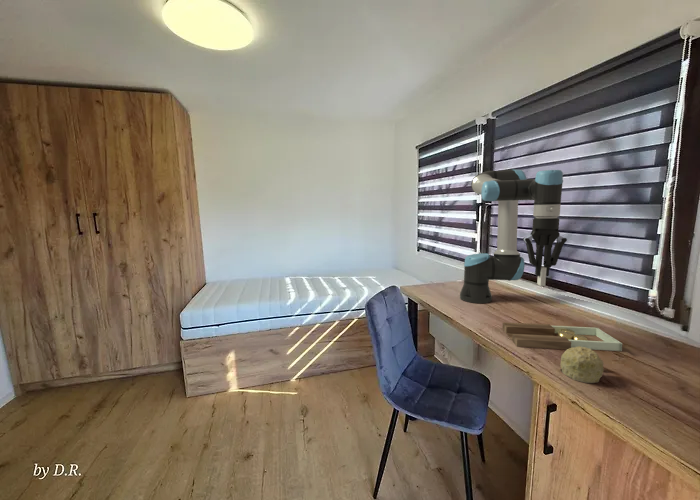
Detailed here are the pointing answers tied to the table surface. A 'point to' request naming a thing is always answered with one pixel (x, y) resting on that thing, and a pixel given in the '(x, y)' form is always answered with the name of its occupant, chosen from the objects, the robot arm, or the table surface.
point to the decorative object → (582, 364)
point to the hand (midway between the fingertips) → (541, 285)
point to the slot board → (535, 336)
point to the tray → (595, 345)
